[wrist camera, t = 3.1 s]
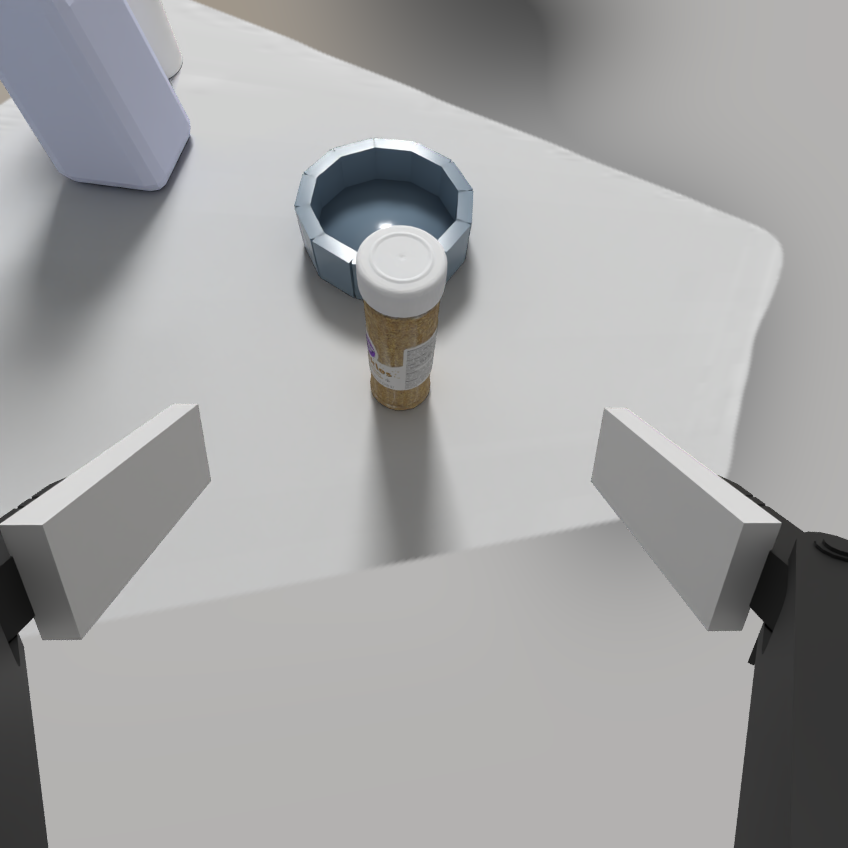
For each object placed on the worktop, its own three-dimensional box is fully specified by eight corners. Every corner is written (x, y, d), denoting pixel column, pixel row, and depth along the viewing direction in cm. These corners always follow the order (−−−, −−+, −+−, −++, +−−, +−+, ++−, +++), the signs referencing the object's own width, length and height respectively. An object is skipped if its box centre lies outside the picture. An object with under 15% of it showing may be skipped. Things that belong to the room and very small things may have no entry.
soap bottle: (214, 205, 40) (25, -214, 20) (60, 186, 40) (-286, -254, 20) (243, 135, 44) (110, -279, 24) (103, 117, 44) (-152, -313, 24)
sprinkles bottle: (359, 379, 34) (336, 246, 22) (407, 349, 36) (412, 207, 23) (393, 424, 33) (390, 309, 21) (443, 392, 34) (467, 266, 22)
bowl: (342, 323, 36) (335, 290, 33) (284, 204, 41) (273, 164, 37) (494, 269, 39) (503, 233, 35) (424, 164, 44) (426, 123, 40)
